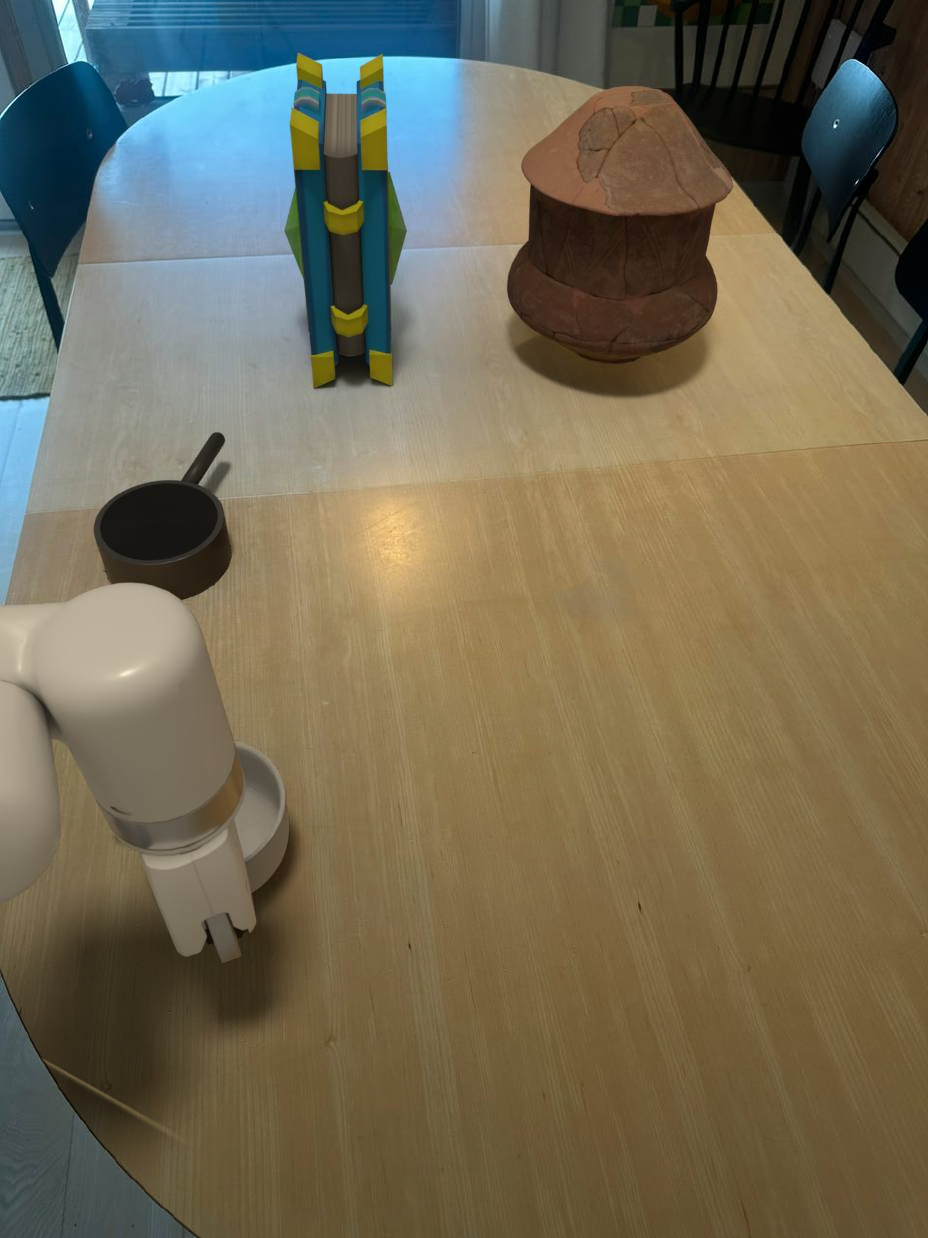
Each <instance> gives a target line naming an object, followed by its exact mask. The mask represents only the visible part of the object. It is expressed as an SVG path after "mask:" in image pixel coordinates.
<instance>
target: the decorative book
mask: <svg viewBox="0 0 928 1238" xmlns="http://www.w3.org/2000/svg"><path fill="white" fill-rule="evenodd" d="M295 69H296V79H297V85H296V91H294V95H293V107H291V110H290V117H289V131H290V132H289V133H290V143H291V155H292V165H293V166H292V167H293V175H294V190H293V194H292V198H291V203H290V206H289V211H288V214H287V219H286V222H285V226H284V230H283V231H284V234H285V236H286V239H287V241H288V244H289V246H290V249H291V251H292V254H293V256H294V259H295V262H296V264H297V267H298V269H299V271H300V274H301V276H302V279H303V286H304V299H305V309H306V310H305V311H306V319H307V330H308V332H309V333H308V334H309V344H310V345H309V346H310V362H311V363H310V365H311V374H312V384H313V386H312V387H313V389H316V388H319V387H320V386H322V385H325V384H327V383H329V382H331V381H334V380H335V379H336V365H337V364H339V361H338V359H339V355H341V356H345V357H355V356H360V355H362V354H364V353H365V362H366V364H368V365H369V377H370V378H371V379H373V380H376V381H379V382H381V383H384V384H386V385H388V386H390V387H393V359H392V358H393V357H392V290H391V289H392V288H391V286H392V285H393V283H394V280H395V278H396V277H395V276H396V273H397V270H398V266H399V261H400V259H401V254H402V251H403V247H404V243H405V240H406V236H407V232H408V230H407V227H406V223H405V220H404V216H403V213H402V208H401V206H400V203H399V199H398V196H397V193H396V189H395V185H394V181H393V179H392V176H391V171H389V161H388V118H387V116H388V113H387V94H386V92H385V79H384V78H385V75H384V73H385V72H384V55H383V53H381V54H379V55H378V56H376V57H373V59H371V60H369V61H367V62H366V63H364V64H362V65H360V66H359V80H357V81H356V93H328V91H327V90H328V89H327V81H326V80H324V75H323V74H324V72H323V64H322V63H320V62H318V61H316V60H314V59H313V58H310V57H308V56H306V55H304V54H302V53H300V52H297V56H296V65H295Z"/></svg>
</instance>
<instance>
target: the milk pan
mask: <svg viewBox="0 0 928 1238" xmlns="http://www.w3.org/2000/svg"><path fill="white" fill-rule="evenodd" d="M225 443H226V436H224V434H223V433H221V432H219V431H215V432H213V433H211V434H210V436H209V437H208V439H207V440H206V441H205V443H204V444H203V447H202V448H201V450H199V452H198V454H197V456H196V457H195V459H194V460H193V462H192V463H191V465H190V466H189V468H188V469H187V470H186V472H185V474H184V475H183V477H182V478H181V479H180V480H177V479H161V480H153V481H148V482H143V483H141V484H137V485H135V486H131V487H129V488H127V489H125V490H122V491H120V492H119V493H117V494H116V495H115V496H113V497H112V498H110V499H109V500H108V501H107V502H105V504H104V505H103V506H102V508H100V510H99V511H98V513H97V515H96V517H95V519H94V524H93V536H94V540H95V543H96V546H97V548H98V552H99V555H100V558H101V561H102V564H103V567H104V571H105V573H106V576H107V578H108V580H109V583H110V584H116V583H143V584H147V585H152V586H155V587H158V588H161V589H163V590H166V591H168V592H170V593H172V594H173V595H175V596H176V597H178V598H179V599H180V600H181V601H183V600H185V599H188V598H191V597H194V596H196V595H199V594H201V593H203V592H204V591H206V590H208V589H209V588H211V587H212V586H213V585H215V584H216V583H217V582H218V581H219V580H220V579H221V578H222V577H223V576H224V575H225V573H226V571H228V568H229V566H230V563H231V559H232V548H231V547H232V546H231V541H230V535H229V530H228V526H227V519H226V516H225V510H224V507H223V504H222V502H221V501H220V499H219V498H218V497H217V496H216V495H215V494H214V493H213V492H212V491H211V490H209V489H208V488H206V487H204V486H202V485H200V482H201V481H202V479H203V478H204V477H205V475H206V473H207V472H208V470H209V469H210V467H211V465H212V464H213V462H214V460H215V459H216V457H217V456H218V455H219V453H220V451H221V450H222V448H223V447H224V445H225Z"/></svg>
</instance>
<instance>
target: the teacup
mask: <svg viewBox="0 0 928 1238" xmlns="http://www.w3.org/2000/svg"><path fill="white" fill-rule="evenodd" d="M234 742H235V745H236V749H237V752H238V756H239V759H240V762H241V766H242V769H243V772H244V777H245V793H244V799H243V802H242V804H241V807H240V809H239V811H238V813H237V815H236V816H235V818H234V820H235V823H236V827H237V831H238V835H239V839H240V843H241V847H242V851H243V856H244V860H245V865H246V870H247V875H248V879H249V884H250V889H251V894H252V893H254V892H255V891H257V890H258V889H260V888H261V887H262V886H263V885H264V884H266V883H267V882H268V881H269V880H270V879H271V877H272V876H273V875H274V874H275V873H276V871H277V869H278V868H279V866H280V864H281V863H282V861H283V859H284V857H285V853H286V850H287V846H288V843H289V835H290V822H289V811H288V805H287V790H286V786H285V783H284V780H283V777H282V775H281V771H279V770H278V768H277V766H276V765H275V762H273V761H272V760H271V759H270V758H269V757H268V756H267V755H266V754H265V753H263V752H262V751H261V750H259V749H257V747H254V746H252V745H250V744H247V743H243V742H242V741H238V740H234Z"/></svg>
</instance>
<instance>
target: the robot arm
mask: <svg viewBox="0 0 928 1238" xmlns="http://www.w3.org/2000/svg"><path fill="white" fill-rule="evenodd" d="M232 731H233V730H232V728H231V724H230V721H229V718H228V715H227V711H226V708H225V705H224V701H223V698H222V695H221V691H220V688H219V684H218V681H217V677H216V674H215V670H214V667H213V663H212V661H211V657H210V653H209V650H208V646H207V642H206V639H205V636H204V634H203V631H202V628H201V626H200V623H199V622H198V619H197V617H196V615H195V614H194V612H193V611H192V610H191V608H189V606H188V605H187V604H186V603H185V602H184V601H183V600H180V599H179V598H178V597H176V596H175V595H173V594H172V593H170V592H168V591H166V590H163V589H161V588H158V587H155V586H152V585H147V584H143V583H116V584H112V583H110V584H105V585H102V586H98V587H95V588H92V589H89V590H87V591H84V592H82V593H80V594H78V595H76V596H75V597H73V598H71V599H69V600H66V601H56V602H43V603H29V604H27V603H25V604H0V905H2V904H5V903H7V902H9V901H11V900H13V899H15V898H17V897H18V896H20V895H21V894H23V893H24V892H26V891H27V890H29V889H30V888H31V887H32V886H34V885H35V884H36V883H37V882H38V880H40V878H42V876H43V875H44V874H45V873H46V871H47V870H48V868H49V867H50V865H51V864H52V861H53V860H54V858H55V856H56V853H57V849H58V846H59V843H60V839H61V834H62V814H61V813H62V811H61V802H60V791H59V783H58V774H57V769H56V768H57V767H56V761H55V753H54V746H53V741H52V740H57V741H58V742H61V743H63V744H65V746H66V747H67V748H68V750H69V752H70V755H71V756H72V757H73V760H74V761H75V763H76V765H77V767H78V769H79V771H80V773H81V775H82V777H83V779H84V781H85V783H86V785H87V786H88V789H89V791H90V792H91V795H92V796H93V798H94V799H95V802H96V803H97V807H99V810H100V812H101V813H102V815H103V817H104V820H105V821H106V823H107V825H108V827H109V829H110V830H111V832H112V834H113V835H114V836H115V838H116V839H117V840H118V841H119V842H120V843H121V844H123V845H125V846H126V847H128V848H129V849H131V850H133V851H136V852H137V853H138V855H139V858H140V861H141V864H142V867H143V869H144V872H145V875H146V878H147V881H148V883H149V886H150V888H151V891H152V894H153V896H154V899H155V901H156V904H157V907H158V909H159V911H160V913H161V916H162V918H163V921H164V923H165V925H166V928H167V930H168V933H169V935H170V938H171V940H172V942H173V945H174V948H175V950H176V952H177V953H179V954H180V955H181V956H183V957H185V958H187V957H191V956H194V955H197V954H200V953H201V952H202V951H203V948H204V946H205V944H207V945H211V946H212V945H214V947H215V950H216V952H217V955H218V957H219V959H220V962H221V964H225V963H228V962H230V961H233V960H235V959H238V958H240V957H241V958H242V951H241V947H240V944H239V939H240V938H242V937H243V936H244V934H245V933H247V932H248V933H249V934H251V933H252V932H253V930H254V928H255V927H256V924H257V917H256V912H255V905H254V900H253V895H252V893H251V889H250V884H249V879H248V875H247V870H246V865H245V860H244V856H243V851H242V847H241V843H240V839H239V835H238V831H237V827H236V823H235V820H234V818H235V816H236V815H237V813H238V811H239V809H240V807H241V804H242V802H243V799H244V793H245V777H244V772H243V769H242V766H241V762H240V759H239V756H238V752H237V749H236V745H235V742H234V741H235V739H234V735H233V732H232Z"/></svg>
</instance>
